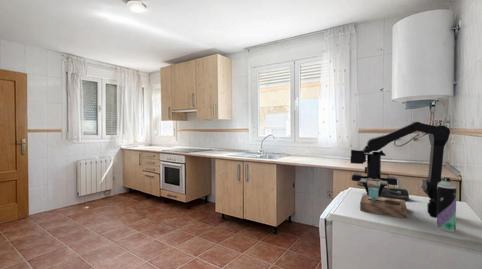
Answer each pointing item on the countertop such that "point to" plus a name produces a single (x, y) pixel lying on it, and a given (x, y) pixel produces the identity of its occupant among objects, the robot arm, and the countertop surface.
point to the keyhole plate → (384, 206)
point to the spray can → (446, 205)
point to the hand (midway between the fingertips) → (373, 196)
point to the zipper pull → (390, 192)
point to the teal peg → (373, 193)
